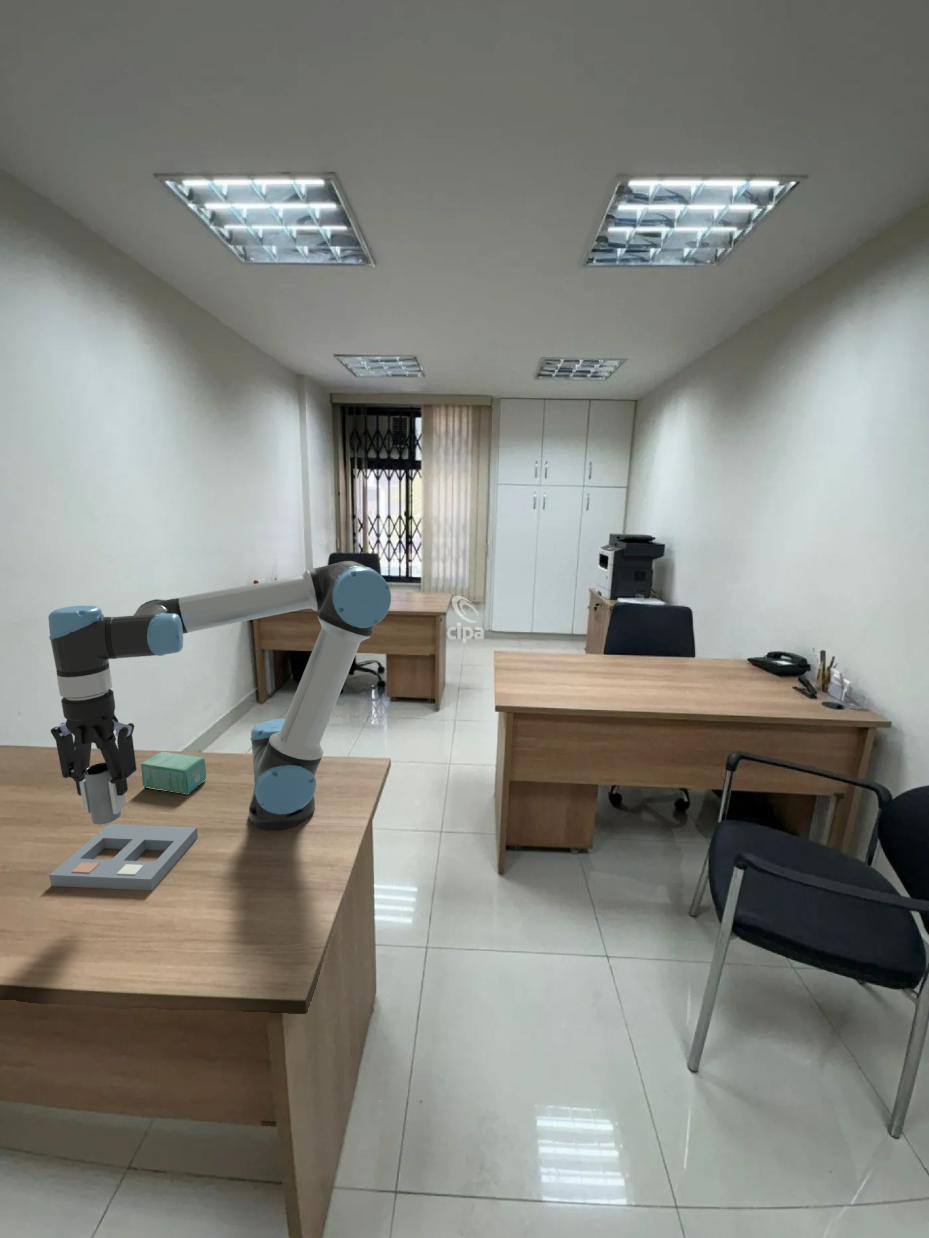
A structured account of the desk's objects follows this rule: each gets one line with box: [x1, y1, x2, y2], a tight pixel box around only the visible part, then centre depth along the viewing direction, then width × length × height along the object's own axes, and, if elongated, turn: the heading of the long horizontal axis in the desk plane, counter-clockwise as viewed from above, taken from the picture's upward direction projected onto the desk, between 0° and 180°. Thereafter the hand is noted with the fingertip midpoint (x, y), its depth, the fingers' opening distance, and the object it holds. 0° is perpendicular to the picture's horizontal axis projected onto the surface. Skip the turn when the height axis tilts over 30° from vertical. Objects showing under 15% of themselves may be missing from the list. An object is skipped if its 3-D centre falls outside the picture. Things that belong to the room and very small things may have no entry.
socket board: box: [48, 823, 199, 891], centre depth 105 cm, size 20×16×3 cm
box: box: [140, 751, 207, 795], centre depth 133 cm, size 7×14×8 cm, turn 79°
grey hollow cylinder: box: [84, 761, 122, 826], centre depth 94 cm, size 4×4×10 cm
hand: (105, 809), depth 95 cm, fingers closed on grey hollow cylinder, 4 cm apart
